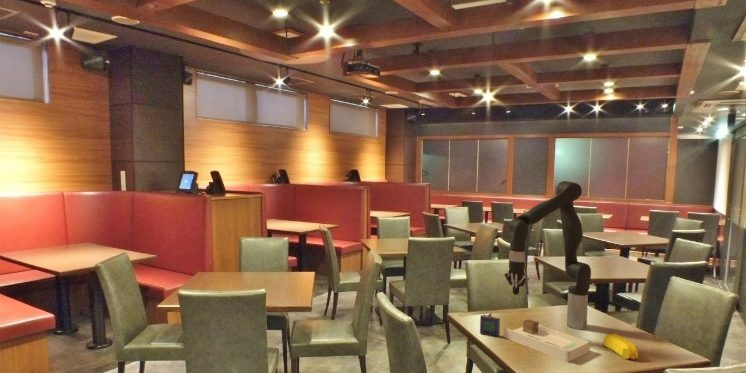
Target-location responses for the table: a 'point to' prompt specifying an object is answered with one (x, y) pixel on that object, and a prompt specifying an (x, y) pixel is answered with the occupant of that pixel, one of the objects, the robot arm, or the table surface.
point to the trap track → (550, 342)
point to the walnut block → (530, 326)
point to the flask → (489, 325)
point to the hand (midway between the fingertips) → (515, 294)
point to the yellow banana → (621, 346)
